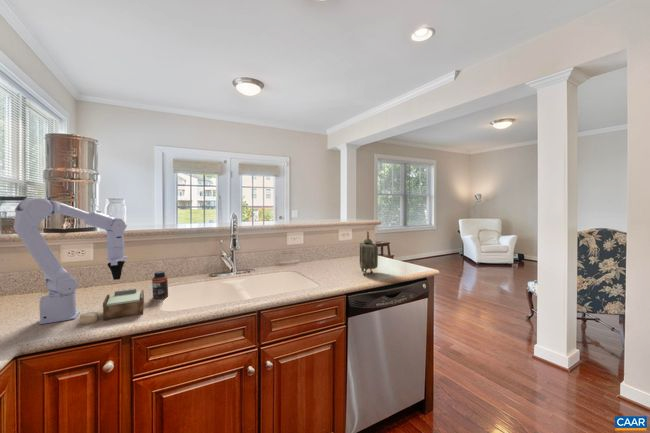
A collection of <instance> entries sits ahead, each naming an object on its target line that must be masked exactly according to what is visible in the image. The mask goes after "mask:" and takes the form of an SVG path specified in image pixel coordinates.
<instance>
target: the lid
mask: <svg viewBox="0 0 650 433" xmlns="http://www.w3.org/2000/svg"><path fill="white" fill-rule="evenodd" d="M141 291H142V290H140V291H137V288H130V289H123V290H116V291H114V294H111V295H110V294H109V296H110V298H109V300H108V302H107V306H110V305H116V304H123V303H130V302H137V301H140V294H141Z"/></svg>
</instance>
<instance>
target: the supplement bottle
mask: <svg viewBox="0 0 650 433" xmlns="http://www.w3.org/2000/svg"><path fill="white" fill-rule="evenodd" d="M153 275H154V276H153V278H152V279H151V287H152V298H153V299H155V300H160V299H165V298H167V297H168V296H169V285H168V284H169V283H168V276H167V275H166V273H165V271H163V270H158V271H155V272H154V274H153Z"/></svg>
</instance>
